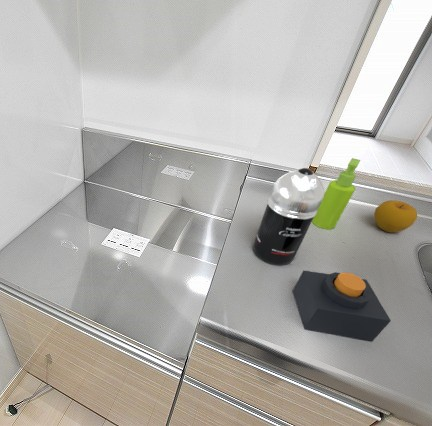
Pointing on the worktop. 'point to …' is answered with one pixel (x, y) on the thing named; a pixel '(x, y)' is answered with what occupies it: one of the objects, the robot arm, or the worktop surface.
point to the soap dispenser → (336, 198)
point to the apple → (395, 216)
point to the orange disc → (349, 284)
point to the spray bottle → (288, 216)
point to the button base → (338, 308)
